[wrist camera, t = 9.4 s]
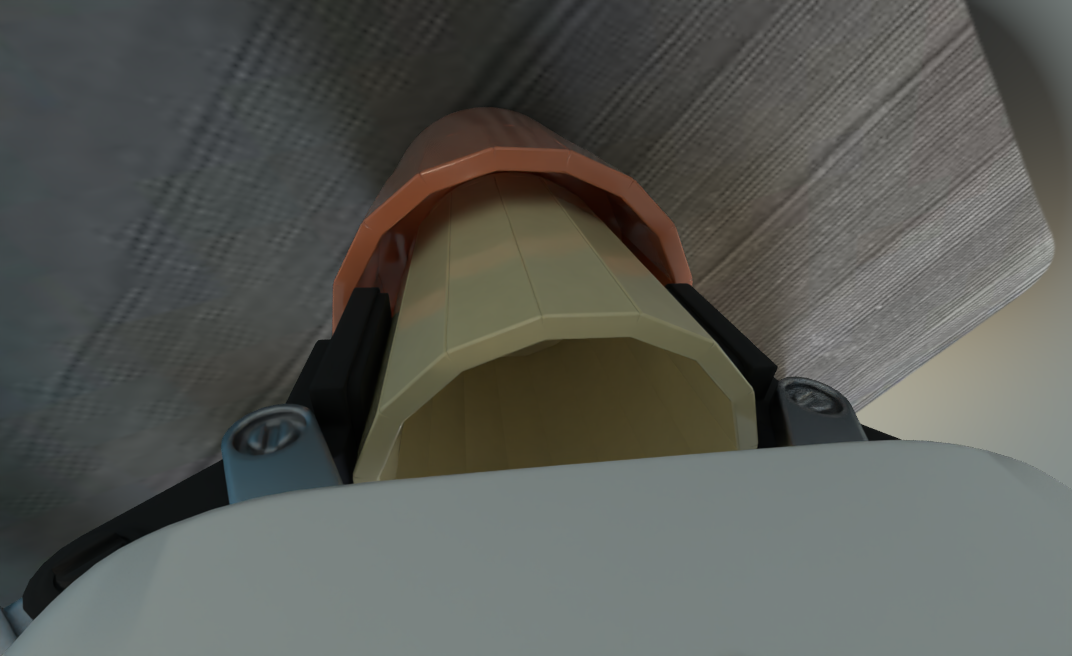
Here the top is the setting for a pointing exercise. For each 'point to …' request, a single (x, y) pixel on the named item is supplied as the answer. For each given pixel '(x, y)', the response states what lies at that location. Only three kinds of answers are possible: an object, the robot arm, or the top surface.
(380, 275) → the orange cup
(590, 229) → the cream cup
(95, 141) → the top surface
